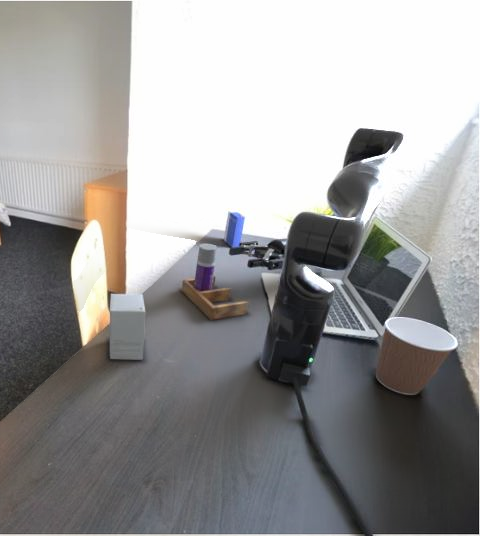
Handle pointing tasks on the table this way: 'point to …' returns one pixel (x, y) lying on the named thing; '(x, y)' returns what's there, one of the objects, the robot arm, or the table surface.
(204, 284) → the container
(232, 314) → the caddy
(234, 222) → the walkman
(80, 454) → the table surface
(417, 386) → the coffee cup
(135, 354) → the white packaging box
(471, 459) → the table surface
